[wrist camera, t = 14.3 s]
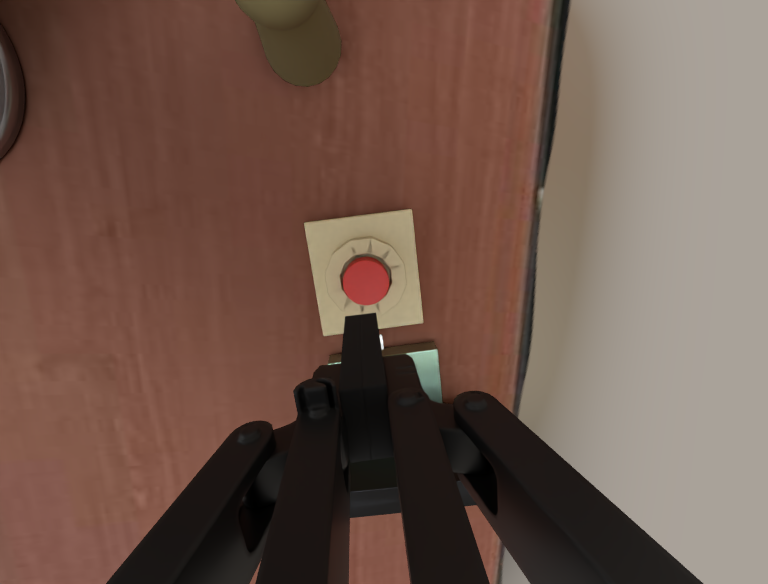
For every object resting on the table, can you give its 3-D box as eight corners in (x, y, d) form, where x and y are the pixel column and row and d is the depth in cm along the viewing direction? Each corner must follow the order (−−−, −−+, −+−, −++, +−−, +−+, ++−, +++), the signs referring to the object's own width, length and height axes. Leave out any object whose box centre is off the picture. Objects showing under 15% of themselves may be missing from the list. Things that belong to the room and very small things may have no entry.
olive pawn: (353, 68, 29) (346, -10, 19) (284, 99, 29) (238, 40, 19) (321, -15, 28) (294, -151, 17) (249, 18, 28) (177, -95, 17)
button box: (306, 222, 32) (299, 224, 28) (409, 208, 32) (414, 209, 29) (325, 330, 34) (320, 344, 31) (420, 317, 34) (427, 330, 31)
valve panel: (282, 340, 34) (276, 348, 32) (474, 314, 35) (482, 321, 32) (314, 501, 39) (311, 518, 37) (485, 477, 39) (492, 492, 37)
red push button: (341, 259, 30) (339, 263, 28) (385, 253, 30) (386, 257, 28) (347, 302, 30) (346, 308, 29) (390, 296, 31) (392, 302, 29)
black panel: (318, 442, 35) (302, 525, 26) (316, 421, 34) (298, 499, 25) (465, 428, 35) (499, 505, 26) (465, 407, 35) (500, 479, 26)
